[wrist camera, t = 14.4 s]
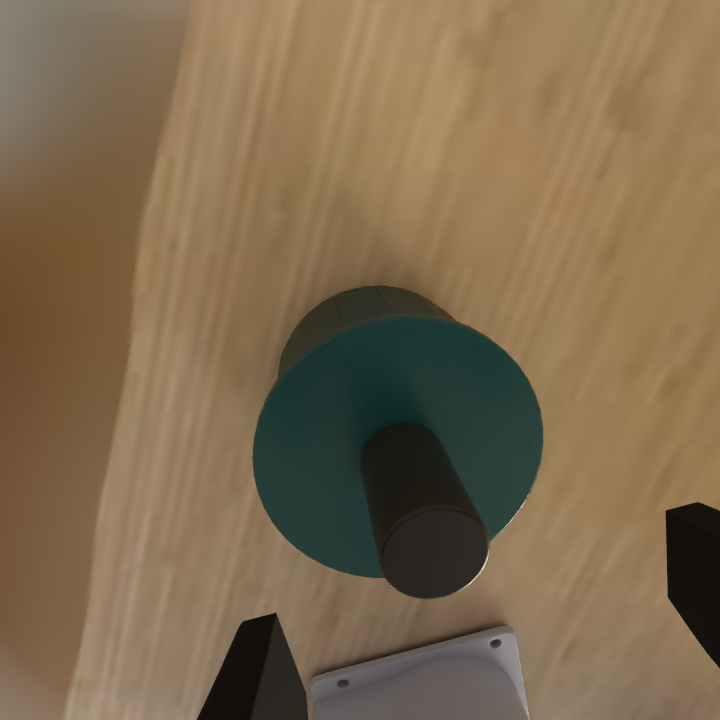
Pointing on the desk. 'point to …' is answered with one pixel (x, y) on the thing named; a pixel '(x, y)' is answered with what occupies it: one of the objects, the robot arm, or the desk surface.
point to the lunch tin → (353, 314)
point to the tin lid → (399, 450)
